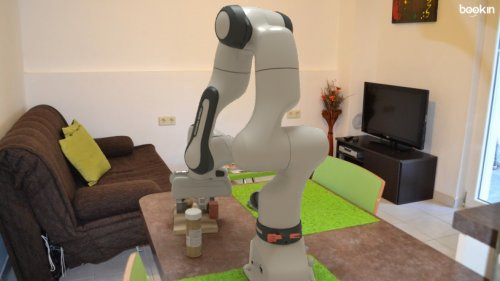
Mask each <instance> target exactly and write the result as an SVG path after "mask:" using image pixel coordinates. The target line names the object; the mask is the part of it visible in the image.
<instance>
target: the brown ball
mask: <svg viewBox="0 0 500 281" xmlns="http://www.w3.org/2000/svg"><path fill="white" fill-rule="evenodd" d="M184 201H187V208H191V207H192V206H193V203H194V201H193V199H192V198H187V199H185V200H184ZM184 201H183V202H184Z"/></svg>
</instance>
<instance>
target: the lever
mask: <svg viewBox="0 0 500 281" xmlns="http://www.w3.org/2000/svg"><path fill="white" fill-rule="evenodd" d="M215 199H216V197H210V200H209V202H208V204H207V205H206V210H201V211H209V219H211V218H216V219H219V202H218V200H215ZM205 201H206V200H205V198H199V203H204V202H205Z"/></svg>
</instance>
